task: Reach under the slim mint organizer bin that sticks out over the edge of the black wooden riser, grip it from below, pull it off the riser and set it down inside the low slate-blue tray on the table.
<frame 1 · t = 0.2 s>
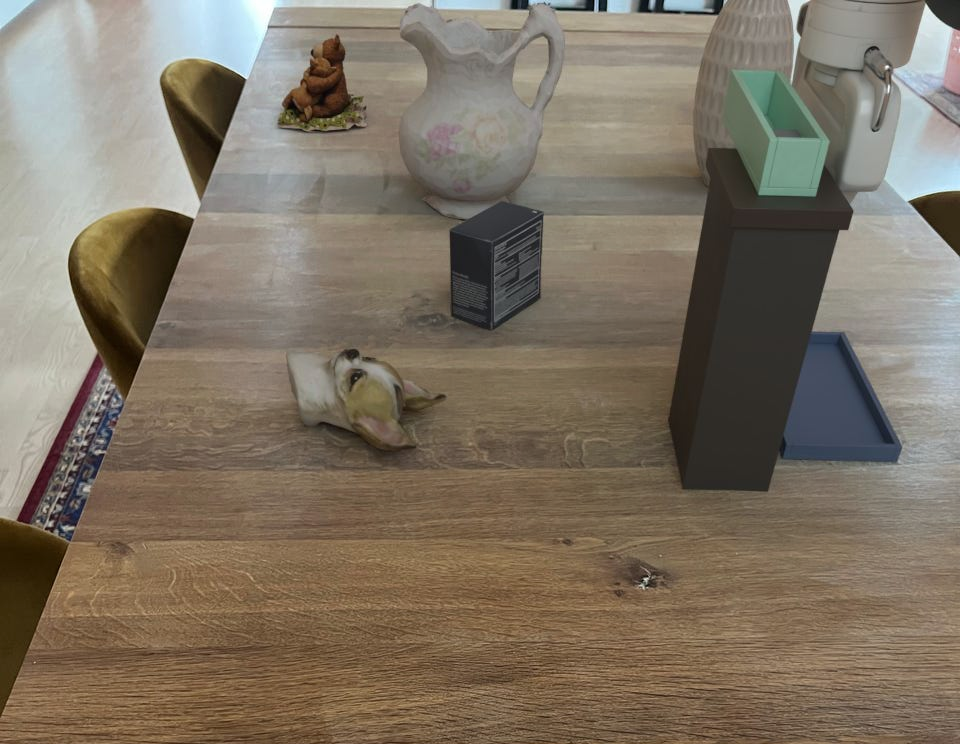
hand: (816, 206, 89), 20 cm above the table, tool pointing down, fingers open, 8 cm apart
riser: (715, 453, 95), on the table
small box: (495, 308, 117), on the table
bear figurine: (323, 121, 165), on the table
ceramic pitcher: (477, 205, 140), on the table
ceramic sculpture: (363, 429, 98), on the table
slim bin: (765, 154, 81), point 26 cm above the table, touching riser
vase: (724, 185, 147), on the table
tray: (813, 397, 103), on the table
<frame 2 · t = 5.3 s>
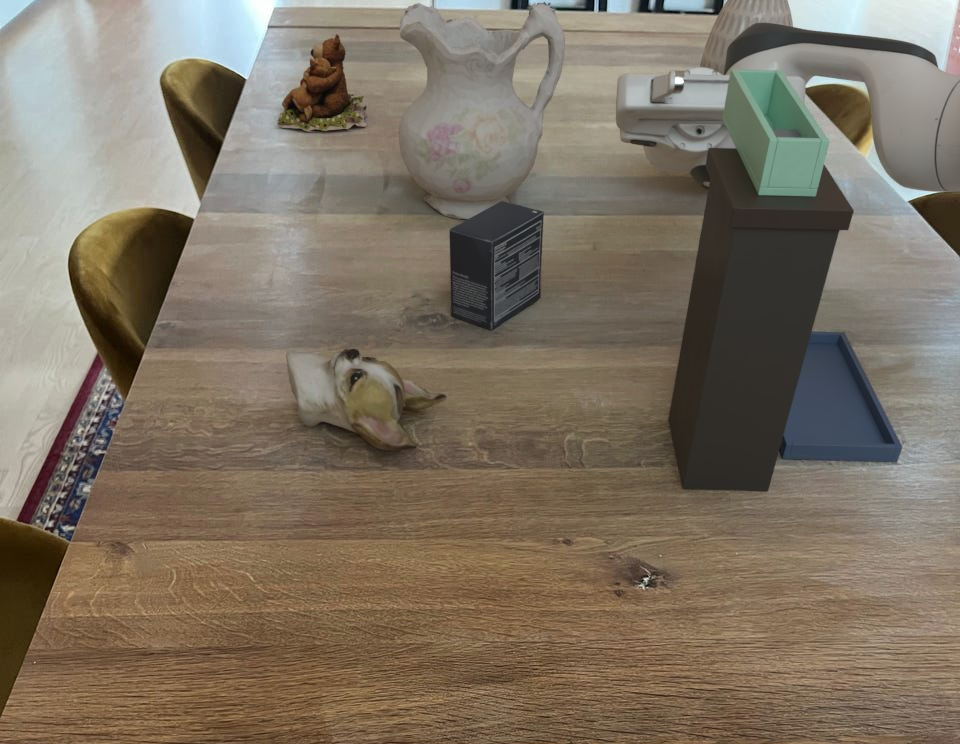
hand: (723, 79, 99), 25 cm above the table, tool pointing upward, fingers open, 8 cm apart
nothing on the table moved.
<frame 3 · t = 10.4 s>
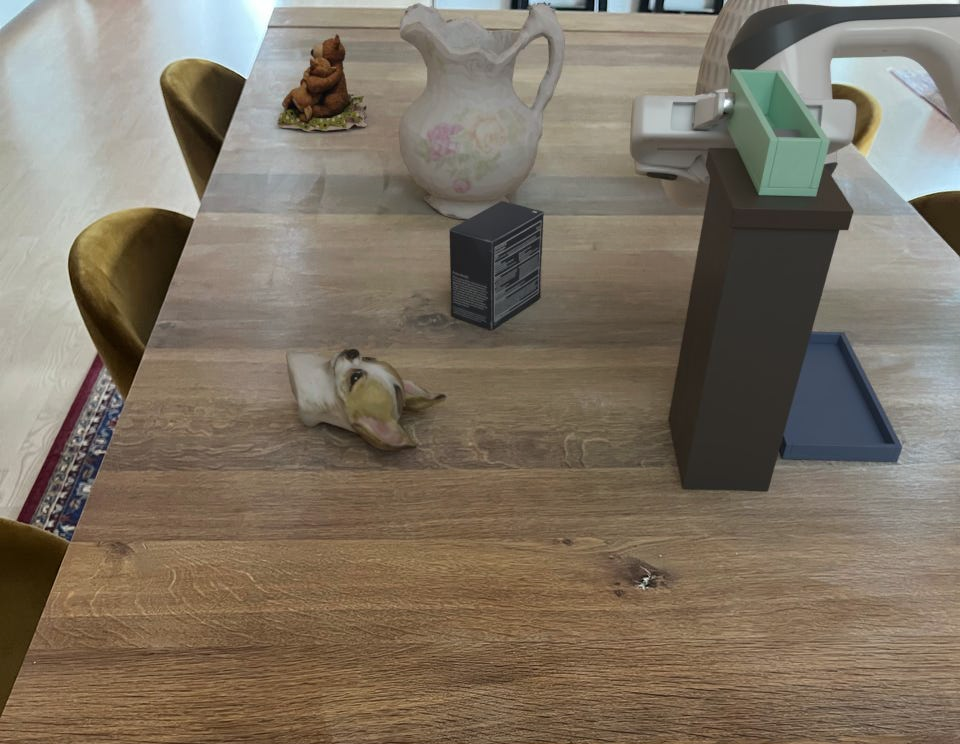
hand: (760, 103, 83), 28 cm above the table, tool pointing upward, fingers closed on slim bin, 4 cm apart
slim bin: (765, 154, 81), point 26 cm above the table, touching gripper, riser
everything else where it was.
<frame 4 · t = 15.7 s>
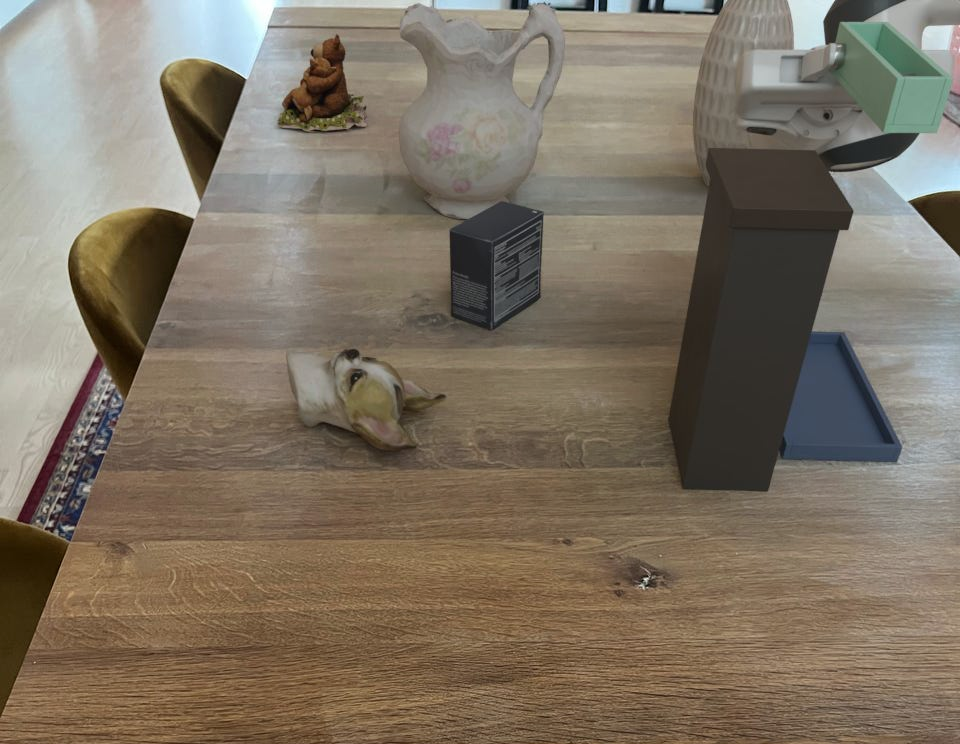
hand: (869, 52, 88), 30 cm above the table, tool pointing upward, fingers closed on slim bin, 4 cm apart
slim bin: (878, 99, 85), point 28 cm above the table, touching gripper
everything else where it was.
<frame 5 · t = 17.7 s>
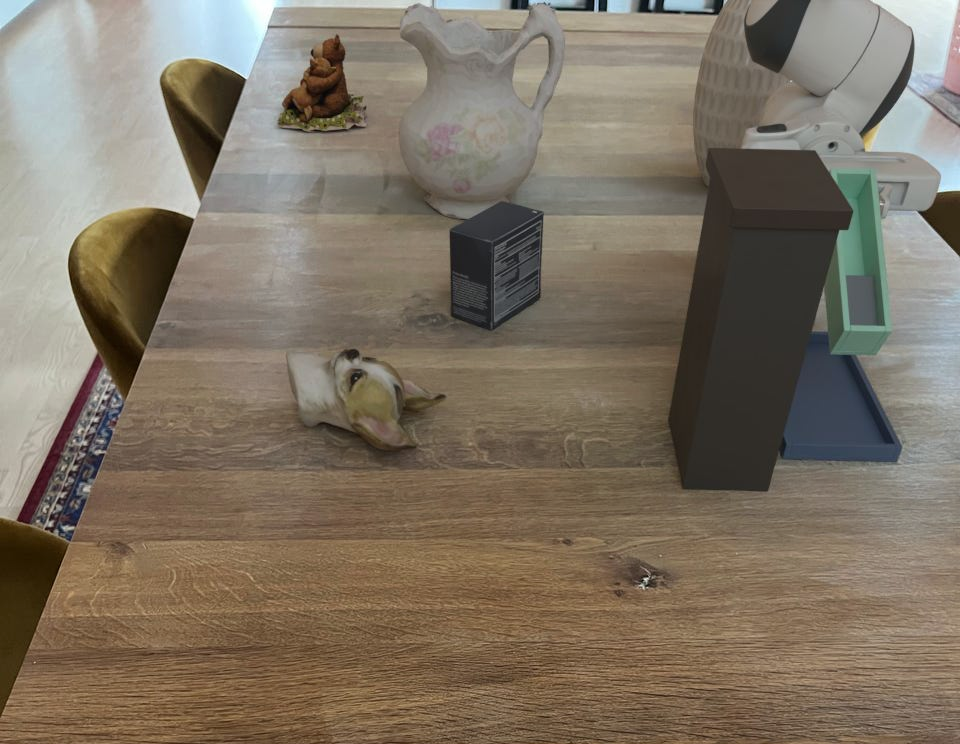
hand: (850, 210, 95), 18 cm above the table, tool horizontal, fingers closed on slim bin, 4 cm apart
slim bin: (845, 274, 96), point 13 cm above the table, tilted 29°, touching gripper
everything else where it was.
when the fingers open (6 cm above the table, at t = 21.4 s): slim bin drops 2 cm, resting on tray.
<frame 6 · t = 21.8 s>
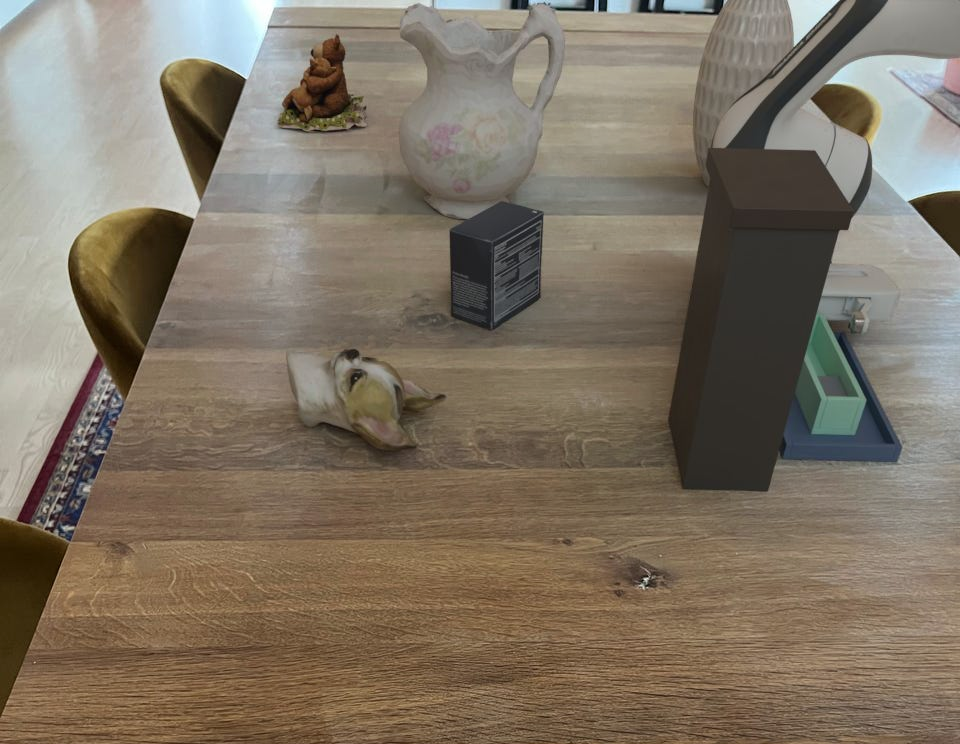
hand: (816, 326, 103), 6 cm above the table, tool horizontal, fingers open, 8 cm apart
slim bin: (812, 388, 104), resting on tray
everything else where it was.
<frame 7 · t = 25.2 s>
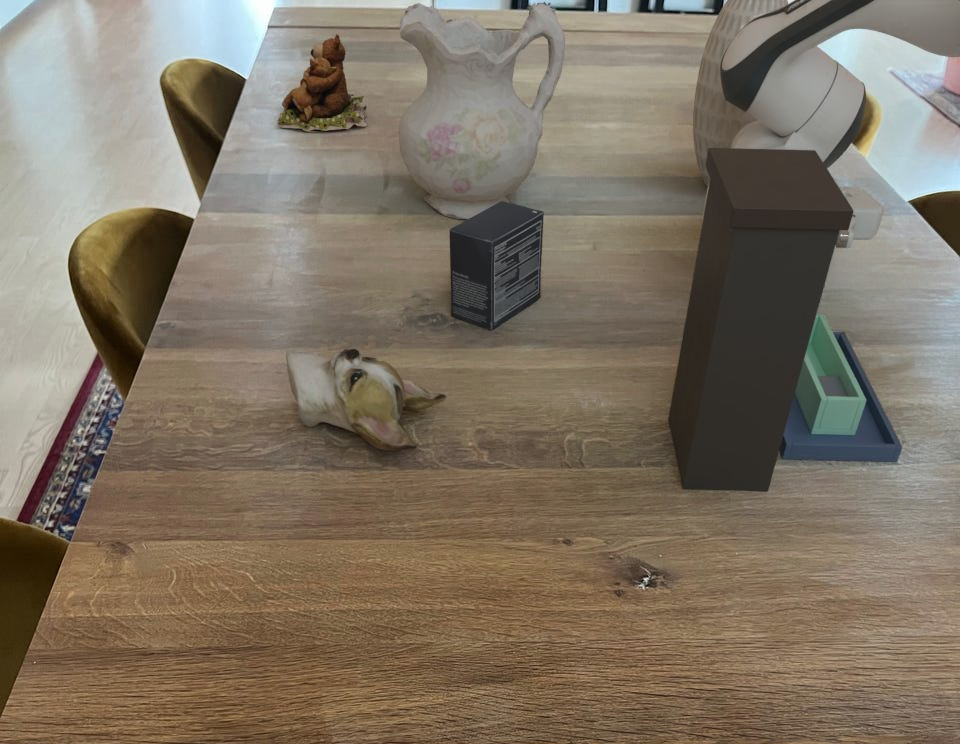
hand: (803, 240, 108), 10 cm above the table, tool horizontal, fingers open, 8 cm apart
nothing on the table moved.
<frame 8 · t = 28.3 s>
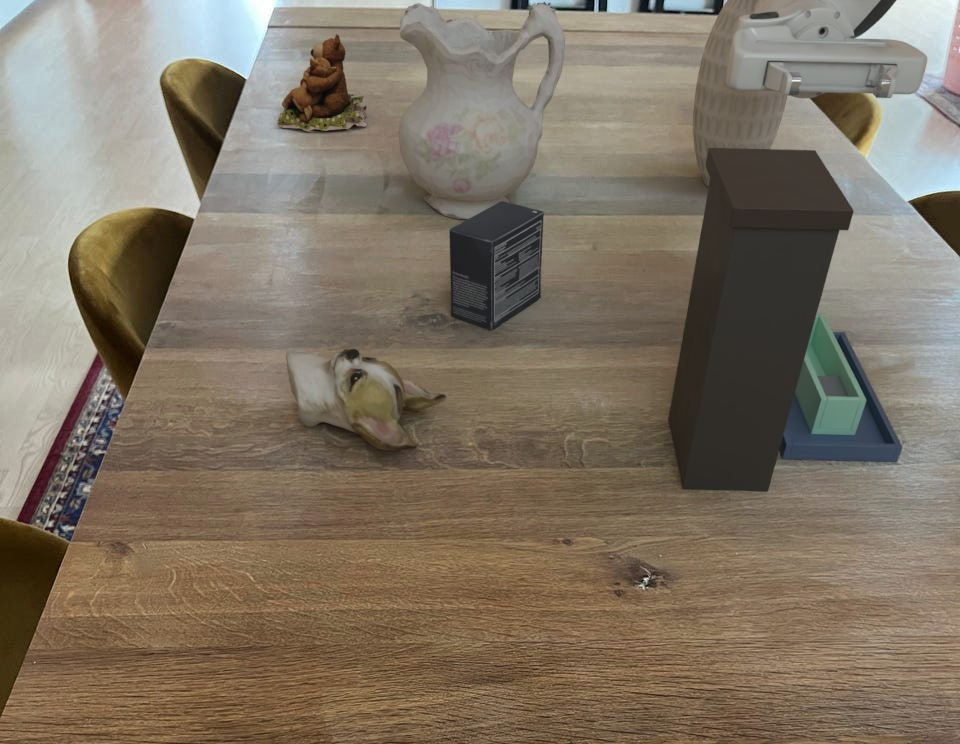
hand: (839, 88, 98), 25 cm above the table, tool horizontal, fingers open, 8 cm apart
nothing on the table moved.
at the end: slim bin inside the target area in the tray (1.2 cm from its centre), point 0.5 cm above the tray's base; slim bin tilted 0°; the gripper is holding nothing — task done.
